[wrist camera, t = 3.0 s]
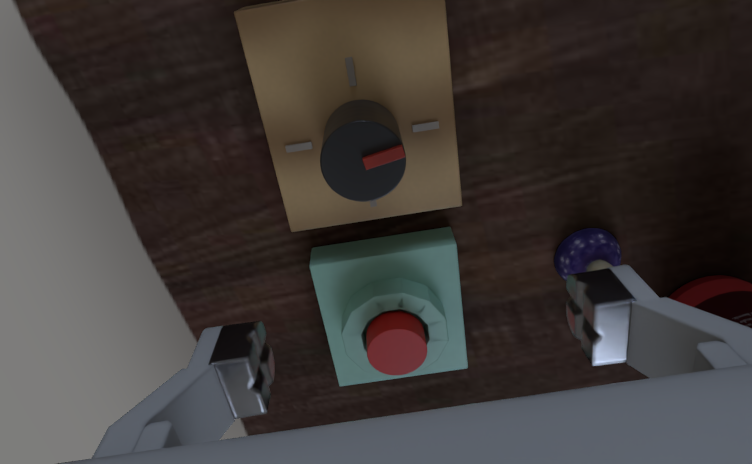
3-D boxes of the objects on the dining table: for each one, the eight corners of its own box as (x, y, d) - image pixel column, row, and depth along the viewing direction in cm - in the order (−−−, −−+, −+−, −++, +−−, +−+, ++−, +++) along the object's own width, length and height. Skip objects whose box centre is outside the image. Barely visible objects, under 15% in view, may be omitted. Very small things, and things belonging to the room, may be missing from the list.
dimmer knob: (339, 181, 29) (337, 215, 25) (312, 113, 27) (305, 139, 23) (408, 158, 28) (417, 189, 24) (385, 88, 26) (391, 109, 23)
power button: (362, 315, 32) (362, 333, 30) (420, 306, 31) (423, 324, 30) (371, 360, 33) (372, 379, 32) (426, 351, 33) (430, 371, 32)
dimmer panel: (243, 7, 27) (232, 11, 24) (435, -27, 26) (443, -25, 24) (295, 214, 32) (290, 234, 30) (454, 189, 32) (463, 207, 30)
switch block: (311, 247, 33) (306, 281, 30) (450, 226, 33) (461, 257, 30) (340, 364, 38) (338, 405, 35) (461, 346, 38) (473, 386, 34)
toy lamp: (541, 283, 35) (675, 515, 21) (550, 222, 33) (707, 433, 18) (611, 280, 36) (793, 509, 21) (624, 219, 33) (838, 426, 19)
